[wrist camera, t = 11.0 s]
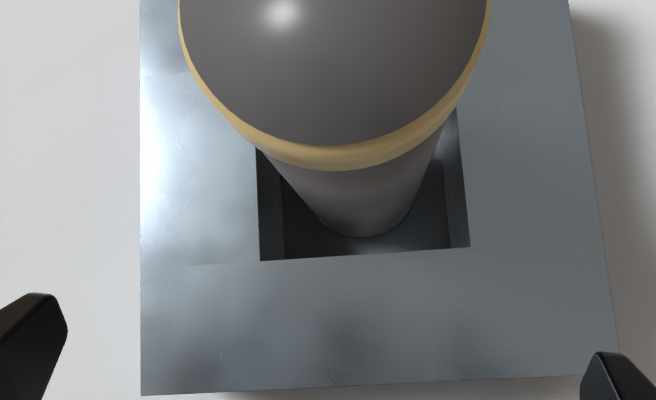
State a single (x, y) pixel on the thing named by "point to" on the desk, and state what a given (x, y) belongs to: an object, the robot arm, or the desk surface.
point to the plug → (338, 91)
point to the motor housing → (382, 268)
